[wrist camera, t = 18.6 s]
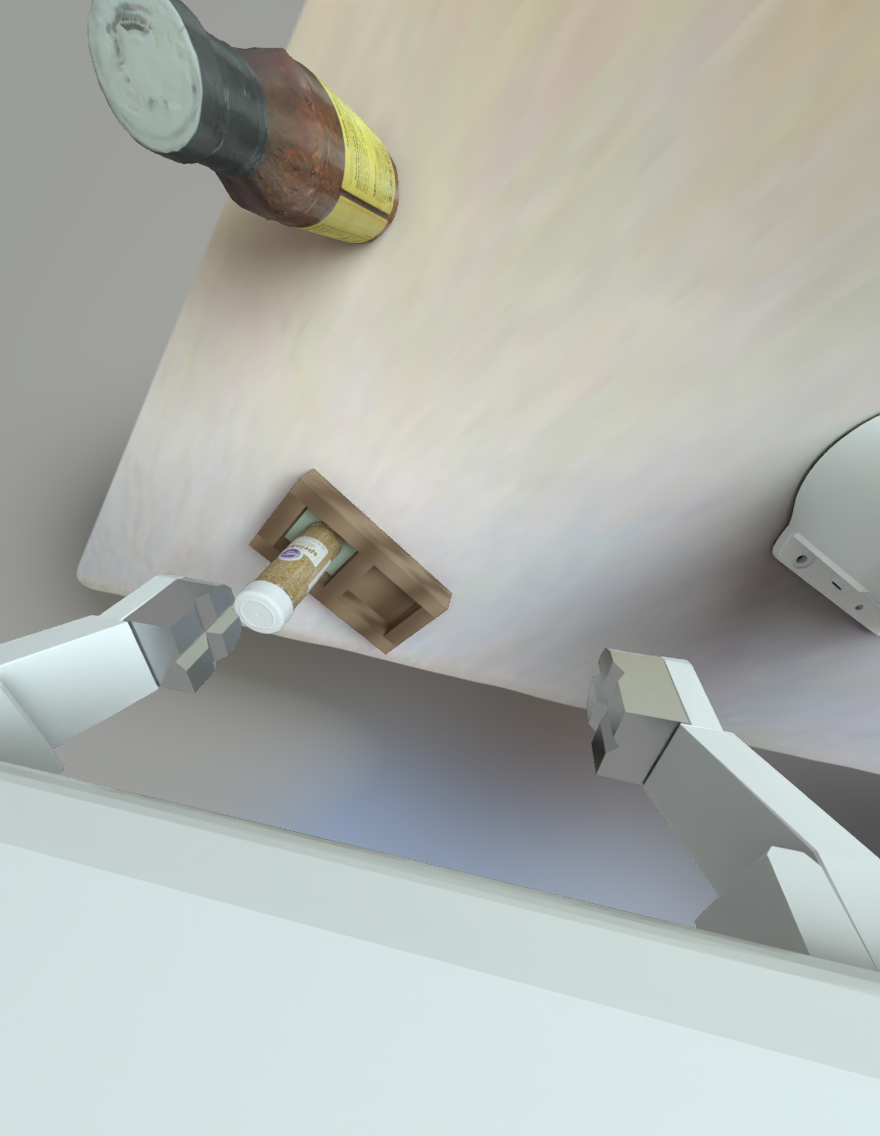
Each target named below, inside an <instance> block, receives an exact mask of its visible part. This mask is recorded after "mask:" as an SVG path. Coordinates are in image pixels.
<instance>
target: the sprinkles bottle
mask: <svg viewBox="0 0 880 1136" xmlns="http://www.w3.org/2000/svg"><path fill="white" fill-rule="evenodd" d="M341 549H342V539H341V536H340V535H339V534H338V533H336V532H335V531H334V530H333V529H332V528H331V527H329V526H328V525H327V524H326V523H322V522H316V523H312V524H310V525H309V526H307V527H306V528H305V530H304V532H303V533H302V534H301V535H300V536H299V537H298V538H296V539H295V540H294V541H293V542H292V543H291V544H290V545H289V546H287V547H286V548H285V550H284V551H282V552H281V554H280V555H279V556H278V557H277V558H276V559H275V560H274V561H273V562H272V563H271V564H270V565H269V566H268V567H267V568H266V569H265V570H264V571H263V572H262V573H261V574H260V576H259V577H258V578H257V579H255V580H254V581H252V582H250V583H249V584H247V585H246V586H245V587H244V588H243V589H242V590H241V591H240V592H239V593H238V594H237V596H236V597H235V601H234V610H235V612H236V613H237V614H238V615H239V617H240V620H241V621H242V622H243V623H244V624H245V625H246V626H247V627H249V628H251V629H252V630H254V631H257V632H260V633H266V634H270V633H275V632H277V631H279V630H280V629H281V628H282V627H283V626H284V625H285V624H286V623H287V621H288V620H289V619H290V618H291V616H292V614H293V612H294V609H295V608H296V606H297V605H298V604H299V603H300V602H301V600H302V599H303V598H304V597H305V596H306V595H307V594H308V593H309V591H310V590H311V589H312V588H313V586H314V585H315V584H316V582H317V581H318V580H319V578H320V577H321V576H322V575H323V573H324V572H325V571H326V569H327V568H328V567H329V565H330V563H331V562H332V561H333V559H334V558H335V557H336V556H337V555H338V554H339V553H340V552H341Z"/></svg>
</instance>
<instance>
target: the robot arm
mask: <svg viewBox="0 0 880 1136" xmlns="http://www.w3.org/2000/svg"><path fill="white" fill-rule="evenodd" d="M772 553H773V556H774V557H775V558H776V559H777V560H779V561H780V562H781V563H782V564H784V565H785V566H786V567H788V568H789V569H790V570H792V571H793V572H794V573H795V574H797V575H798V576H799V577H801V578H802V579H803V580H805V581H806V582H807V583H809V584H810V585H811V586H812V587H814V588H815V589H816V590H818V591H819V592H820V593H822V594H823V595H824V596H825V597H827V598H828V599H829V600H831V601H832V602H833V603H835V604H836V605H837V606H839V607H840V608H841V609H842V610H844V611H845V612H846V613H848V614H849V615H850V616H852V617H853V618H854V619H855V620H857V621H858V622H859V623H861V624H862V625H863V626H865V627H866V628H867V629H869V630H870V631H872V632H873V633H874V634H876V635H878V636H880V415H879V416H877V417H875V418H873V419H871V420H869V421H868V422H866V423H864V424H862V425H861V426H859V427H858V428H856V429H855V430H853V431H852V432H850V433H849V434H847V435H846V436H845V437H843V438H842V439H841V440H840V441H838V442H837V443H836V444H835V445H834V446H832V447H831V448H830V449H829V450H828V451H827V452H826V453H825V454H824V455H823V456H822V457H821V458H820V460H819V461H818V462H817V463H816V464H815V465H814V467H813V468H812V469H811V471H810V472H809V474H808V475H807V477H806V478H805V480H804V482H803V484H802V485H801V488H800V490H799V492H798V495H797V497H796V501H795V505H794V509H793V514H792V518H791V521H790V523H789V525H788V526H787V528H786V529H785V530H784V532H783V533H782V534H781V536H780V537H779V538H778V540H777V541H776V543H775V545H774V547H773V550H772ZM802 555H803V556H802ZM799 556H802V558H800V559H797V558H798V557H799ZM796 559H797V560H796ZM234 601H235V599H234V596H233V592H232V589H231V588H230V587H228V586H226V585H224V584H219V583H213V582H208V581H203V580H198V579H192V578H187V577H180V576H175V575H169V574H162V575H157V576H155V577H154V578H152V579H151V580H149V581H148V582H147V583H145V584H144V585H142V586H141V587H139V588H138V589H136V590H135V591H134V592H132V593H131V594H129V595H128V596H126V597H125V598H124V599H122V600H121V601H119V602H118V603H117V604H115V605H114V606H112V607H111V608H109V609H108V610H106V611H105V612H104V613H102V614H101V615H99V616H93V615H90V616H87V617H84V618H81V619H78V620H75V621H72V622H69V623H65V624H62V625H60V626H56V627H53V628H50V629H47V630H44V631H40V632H38V633H35V634H31V635H28V636H25V637H22V638H18V639H15V640H12V641H9V642H6V643H3V644H0V1136H880V859H879V858H878V857H877V856H875V855H874V854H873V853H872V852H871V851H870V850H868V849H867V848H866V847H865V846H864V845H863V844H861V843H860V842H859V841H858V840H857V839H856V838H854V837H853V836H852V835H851V834H850V833H848V832H847V831H846V830H845V829H844V828H843V827H841V826H840V825H839V824H838V823H837V822H836V821H834V820H833V819H832V818H831V817H830V816H829V815H828V814H826V813H825V812H824V811H823V810H822V809H821V808H819V807H818V806H817V805H816V804H815V803H814V802H812V801H811V800H810V799H809V798H808V797H806V796H805V795H804V794H803V793H802V792H801V791H800V790H798V789H797V788H796V787H795V786H794V785H793V784H791V783H790V782H789V781H788V780H787V779H786V778H784V777H783V776H782V775H781V774H780V773H779V772H777V771H776V770H775V769H774V768H773V767H772V766H770V765H769V764H768V763H767V762H766V761H765V760H763V759H762V758H761V757H760V756H759V755H758V754H756V753H755V752H754V751H753V750H752V749H751V748H749V747H748V746H747V745H746V744H745V743H744V742H742V741H741V740H740V739H739V738H738V737H737V736H735V735H734V734H733V733H730V732H725V731H723V729H722V727H721V725H720V723H719V721H718V719H717V717H716V715H715V713H714V710H713V708H712V706H711V704H710V702H709V700H708V698H707V696H706V694H705V692H704V689H703V687H702V685H701V683H700V681H699V679H698V677H697V675H696V673H695V670H694V668H693V666H692V664H691V663H690V662H688V661H687V660H684V659H677V658H670V657H663V656H653V655H647V654H641V653H634V652H628V651H622V650H616V649H609V648H605V650H604V651H603V652H602V654H601V657H600V659H599V668H600V673H599V674H598V675H596V676H594V677H593V678H592V681H591V684H590V687H589V691H588V698H587V716H588V723H589V725H590V726H591V727H592V728H593V729H594V730H595V732H596V733H595V735H594V738H593V740H592V743H591V744H592V751H593V757H594V763H595V770H596V775H600V776H604V777H609V778H614V779H618V780H622V781H626V782H630V783H635V784H639V785H644V786H643V789H644V790H645V792H646V793H647V795H648V796H649V797H650V799H651V800H652V802H653V803H654V805H655V806H656V807H657V809H658V810H659V812H660V813H661V814H662V816H663V817H664V819H665V820H666V822H667V823H668V824H669V826H670V827H671V828H672V830H673V831H674V833H675V834H676V836H677V837H678V838H679V840H680V841H681V843H682V844H683V846H684V847H685V848H686V850H687V851H688V853H689V854H690V855H691V857H692V858H693V859H694V861H695V863H696V864H697V865H698V867H699V868H700V870H701V871H702V872H703V874H704V875H705V877H706V878H707V879H708V881H709V882H710V884H711V885H712V887H713V888H714V889H715V891H716V892H717V894H718V895H719V897H718V898H717V899H716V900H715V901H714V902H713V903H712V904H711V905H710V906H708V907H707V908H706V909H705V910H704V911H703V912H702V913H701V914H700V915H699V916H698V918H697V919H696V920H695V924H696V928H694V927H689V926H685V925H681V924H677V923H673V922H669V921H664V920H660V919H656V918H652V917H648V916H644V915H640V914H635V913H631V912H627V911H623V910H619V909H615V908H611V907H606V906H602V905H598V904H594V903H590V902H586V901H581V900H577V899H573V898H569V897H565V896H560V895H557V894H552V893H548V892H544V891H540V890H536V889H532V888H528V887H523V886H519V885H515V884H511V883H506V882H502V881H498V880H494V879H490V878H486V877H482V876H478V875H473V874H469V873H465V872H461V871H457V870H453V869H449V868H444V867H440V866H436V865H432V864H427V863H423V862H419V861H415V860H411V859H407V858H403V857H399V856H394V855H390V854H386V853H382V852H378V851H374V850H370V849H365V848H361V847H357V846H353V845H348V844H345V843H340V842H336V841H332V840H328V839H324V838H320V837H316V836H311V835H307V834H303V833H299V832H295V831H291V830H286V829H282V828H278V827H274V826H270V825H265V824H262V823H257V822H253V821H249V820H244V819H240V818H236V817H232V816H228V815H224V814H220V813H215V812H211V811H207V810H203V809H199V808H194V807H190V806H186V805H182V804H178V803H174V802H170V801H165V800H161V799H157V798H153V797H149V796H144V795H141V794H136V793H132V792H128V791H124V790H120V789H115V788H111V787H107V786H103V785H99V784H95V783H90V782H86V781H82V780H78V779H74V778H69V777H65V776H61V775H60V774H61V773H62V772H63V770H64V763H63V762H62V760H61V759H60V757H59V756H58V755H57V753H56V752H55V751H54V749H55V748H56V747H58V746H60V745H62V744H63V743H65V742H67V741H68V740H70V739H72V738H74V737H75V736H77V735H79V734H81V733H82V732H84V731H86V730H87V729H89V728H91V727H93V726H95V725H96V724H98V723H100V722H102V721H103V720H105V719H107V718H108V717H110V716H112V715H114V714H115V713H117V712H119V711H121V710H122V709H124V708H126V707H128V706H129V705H131V704H133V703H134V702H136V701H138V700H140V699H142V698H143V697H145V696H147V695H149V694H150V693H152V692H153V691H156V690H157V689H158V687H162V688H169V689H174V690H180V691H186V692H191V693H195V692H196V691H197V690H198V689H199V688H200V687H201V685H203V684H204V682H205V681H206V680H207V679H208V678H209V677H210V676H211V674H212V673H213V672H214V671H215V662H216V661H217V660H220V659H222V658H224V657H226V656H228V655H229V654H230V653H231V651H232V650H233V649H234V648H235V647H236V645H237V642H238V640H239V637H240V635H241V621H240V617H239V615H238V614H237V613H236V612H235V611H234V610H233V609H232V607H231V606H232V604H233V603H234Z"/></svg>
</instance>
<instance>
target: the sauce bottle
mask: <svg viewBox="0 0 880 1136" xmlns="http://www.w3.org/2000/svg"><path fill="white" fill-rule="evenodd" d="M88 41H89V50H90V54H91V58H92V62H93V65H94V69H95V72H96V76H97V79H98V82H99V86H100V88H101V90H102V92H103V94H104V96H105V98H106V100H107V102H108V104H109V106H110V108H111V110H112V111H113V113H114V115H115V116H116V118H117V120H118V121H119V123H120V124H121V125H122V126H123V128H124V129H125V130H127V132H128V133H129V134H130V135H131V137H132V138H133V139H134V140H135V141H136V142H137V143H139V144H140V145H142V146H143V147H145V148H146V149H148V150H150V151H152V152H154V153H156V154H159V155H161V156H163V157H165V158H168V159H171V160H173V161H175V162H178V163H182V164H188V163H190V164H193V163H199V164H202V165H204V166H207V167H209V168H210V169H212V170H213V171H215V173H216V174H217V176H218V177H219V179H220V180H221V182H222V184H223V185H224V187H225V189H226V191H227V192H228V194H229V195H230V197H231V199H232V200H233V201H234V202H236V203H237V204H238V205H239V206H240V207H242V208H244V209H246V210H248V211H251V212H253V213H255V214H257V215H259V216H262V217H264V218H266V219H267V220H274V221H278V222H279V223H281V224H283V225H286V226H289V227H292V228H296V229H300V230H304V231H308V232H312V233H316V234H319V235H323V236H327V237H331V238H334V239H338V240H342V241H345V242H348V243H362V242H372V241H373V240H374V239H376V238H377V237H379V236H380V235H382V233H383V232H384V231H385V230H386V229H387V228H388V226H389V224H390V223H391V222H392V220H393V218H394V217H395V214H396V210H397V206H398V199H399V192H398V175H397V170H396V166H395V164H394V162H393V160H392V158H391V156H390V154H389V153H388V151H387V149H386V147H385V146H384V144H383V142H382V140H381V139H380V138H379V137H378V135H377V134H376V133H375V132H374V131H373V130H372V129H371V128H370V127H369V126H368V125H367V124H366V123H365V122H364V121H363V120H362V119H360V118H359V117H358V116H357V115H356V114H355V113H354V112H353V111H352V110H351V109H350V108H349V107H348V106H347V105H346V104H345V103H344V102H343V101H342V100H340V99H339V98H338V97H337V96H336V95H335V94H334V93H333V92H332V91H331V90H330V89H329V88H328V87H327V86H326V85H325V84H324V83H323V82H322V81H321V80H320V79H318V78H317V77H316V76H315V75H314V74H313V73H312V72H311V71H310V70H309V69H308V68H306V67H305V66H304V65H302V64H301V63H299V62H298V61H296V60H294V59H293V58H292V57H290V56H289V55H288V53H287V52H286V50H285V49H283V48H248V49H241V48H235V47H231V46H230V45H229V44H227V43H225V42H224V41H221V40H219V39H217V38H215V37H214V36H213V35H211V34H209V33H208V32H207V31H206V30H205V29H204V28H203V26H202V25H201V23H200V21H199V20H198V18H197V17H196V16H195V15H194V14H193V13H192V11H191V10H190V9H189V8H188V7H187V6H186V5H185V4H184V3H183V2H182V1H180V0H92V5H91V8H90V11H89V14H88Z"/></svg>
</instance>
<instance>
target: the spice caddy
mask: <svg viewBox="0 0 880 1136" xmlns="http://www.w3.org/2000/svg"><path fill="white" fill-rule="evenodd" d="M316 522H322V523H326V524H327V525H328V526H329V527H331V528H332V529H333V530H334V531H335V532H336V533H338V534H339V535H340V536H341V539H342V549H341V552H340V553H339V554H338V555H337V556H336V557H335V558H334V559H333V561H332V562H331V563H330V565H329V567H328V568H327V569H326V571H325V572H324V573H323V575H322V576H321V577H320V578H319V580H318V581H317V582H316V584H315V585H314V586H313V588H312V589H311V590H310V591H309V593H310V594H311V595H312V596H314V597H315V598H316V599H317V600H319V601H320V602H321V603H322V604H324V605H325V606H326V607H327V608H329V609H330V610H331V611H332V612H334V613H335V614H336V615H337V616H338V617H340V618H341V619H342V620H343V621H345V622H346V623H347V624H348V625H350V626H351V627H352V628H353V629H355V630H356V631H357V632H358V633H360V634H361V635H362V636H363V637H365V638H366V639H367V640H368V641H370V642H371V643H372V644H373V645H375V646H376V647H377V648H378V649H380V650H381V651H382V652H383V653H385V654H387V653H388V652H390V651H391V650H392V649H394V648H395V647H397V646H398V645H399V644H401V643H402V642H403V641H405V640H406V639H408V638H409V637H410V636H412V635H413V634H414V633H416V632H417V631H419V630H420V629H421V628H423V627H424V626H425V625H427V624H428V623H430V622H431V621H432V620H434V619H435V618H436V617H438V616H439V615H441V614H442V613H443V612H445V611H446V610H447V609H448V606H449V603H450V599H451V595H452V593H451V592H450V591H449V590H448V589H447V588H445V587H444V586H443V585H442V584H441V583H440V582H439V581H438V580H437V579H435V578H434V577H433V576H432V575H431V574H430V573H429V572H428V571H427V570H426V569H424V568H423V567H422V566H421V565H420V564H419V563H418V562H417V561H416V560H414V559H413V558H412V557H411V556H410V555H409V554H408V553H407V552H406V551H404V550H403V549H402V548H401V547H400V546H399V545H398V544H397V543H396V542H394V541H393V540H392V539H391V538H390V537H389V536H388V535H387V534H386V533H385V532H383V531H382V530H381V529H380V528H379V527H378V526H377V525H376V524H375V523H373V522H372V521H371V520H370V519H369V518H368V517H367V516H366V515H365V514H363V513H362V512H361V511H360V510H359V509H358V508H357V507H356V506H355V505H353V504H352V503H351V502H350V501H349V500H348V499H347V498H346V497H345V496H344V495H342V494H341V493H340V492H339V491H338V490H337V489H336V488H335V487H334V486H332V485H331V484H330V483H329V482H328V481H327V480H326V479H325V478H324V477H322V476H321V475H320V474H319V473H318V472H317V471H316V470H315V469H312V470H311V471H310V472H308V473H307V474H306V475H304V476H303V477H301V478H300V479H299V480H298V482H297V483H296V484H295V486H294V487H293V488H292V489H291V491H290V492H289V493H288V495H287V496H286V497H285V498H284V500H283V501H282V502H281V504H280V505H279V506H278V508H277V509H276V510H275V511H274V513H273V514H272V515H271V517H270V518H269V519H268V520H267V522H266V523H265V524H264V526H263V527H262V528H261V530H260V531H259V532H258V533H257V535H256V536H255V537H254V539H253V540H252V541H251V542H250V544H249V545H250V546H251V547H252V548H254V549H255V550H256V551H257V552H259V553H260V554H261V555H262V556H264V557H265V558H266V559H267V560H269V561H270V562H271V563H272V562H273V561H274V560H275V559H276V558H277V557H278V556H279V555H280V554H281V552H282V551H284V550H285V548H286V547H287V546H289V545H290V544H291V543H292V542H293V541H294V540H295V539H296V538H298V537H299V536H300V535H301V534H302V533H303V532H304V530H305V528H306V527H307V526H309V525H310V524H312V523H316Z"/></svg>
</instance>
